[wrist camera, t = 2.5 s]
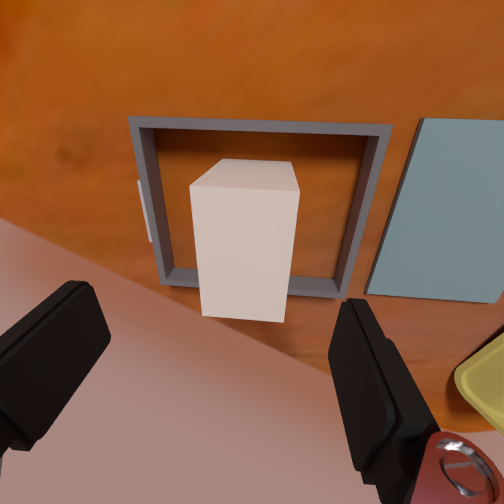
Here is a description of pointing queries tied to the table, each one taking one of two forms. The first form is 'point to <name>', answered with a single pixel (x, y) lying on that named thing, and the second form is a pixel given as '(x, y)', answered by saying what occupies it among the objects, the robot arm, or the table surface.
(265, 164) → the block
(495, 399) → the plastic component
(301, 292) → the grey rectangular frame
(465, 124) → the mat
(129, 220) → the table surface
